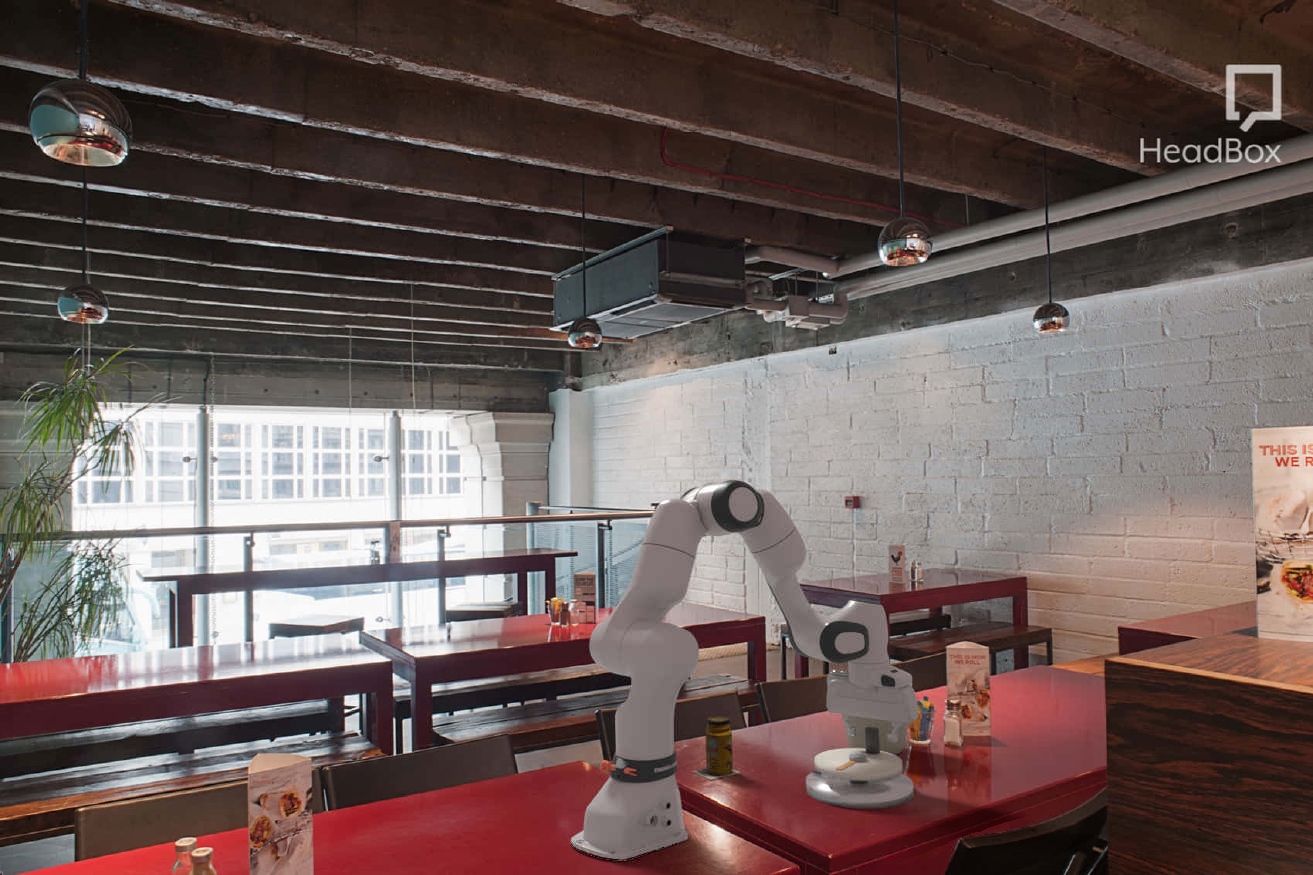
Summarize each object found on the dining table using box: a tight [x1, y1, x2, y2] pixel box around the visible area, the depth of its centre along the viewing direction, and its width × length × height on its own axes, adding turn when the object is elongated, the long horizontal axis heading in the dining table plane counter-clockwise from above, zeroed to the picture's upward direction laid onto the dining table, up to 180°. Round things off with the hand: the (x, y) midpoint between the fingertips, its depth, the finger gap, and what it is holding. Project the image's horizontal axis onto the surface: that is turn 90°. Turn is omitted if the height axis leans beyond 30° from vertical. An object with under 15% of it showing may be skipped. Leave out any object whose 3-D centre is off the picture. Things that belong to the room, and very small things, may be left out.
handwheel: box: [814, 727, 903, 781], centre depth 185 cm, size 18×18×6 cm
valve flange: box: [805, 769, 915, 810], centre depth 184 cm, size 22×22×4 cm
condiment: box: [691, 715, 741, 780], centre depth 200 cm, size 7×8×12 cm
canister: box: [844, 682, 913, 756], centre depth 214 cm, size 18×18×21 cm
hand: (872, 738), depth 190 cm, fingers open, 8 cm apart
